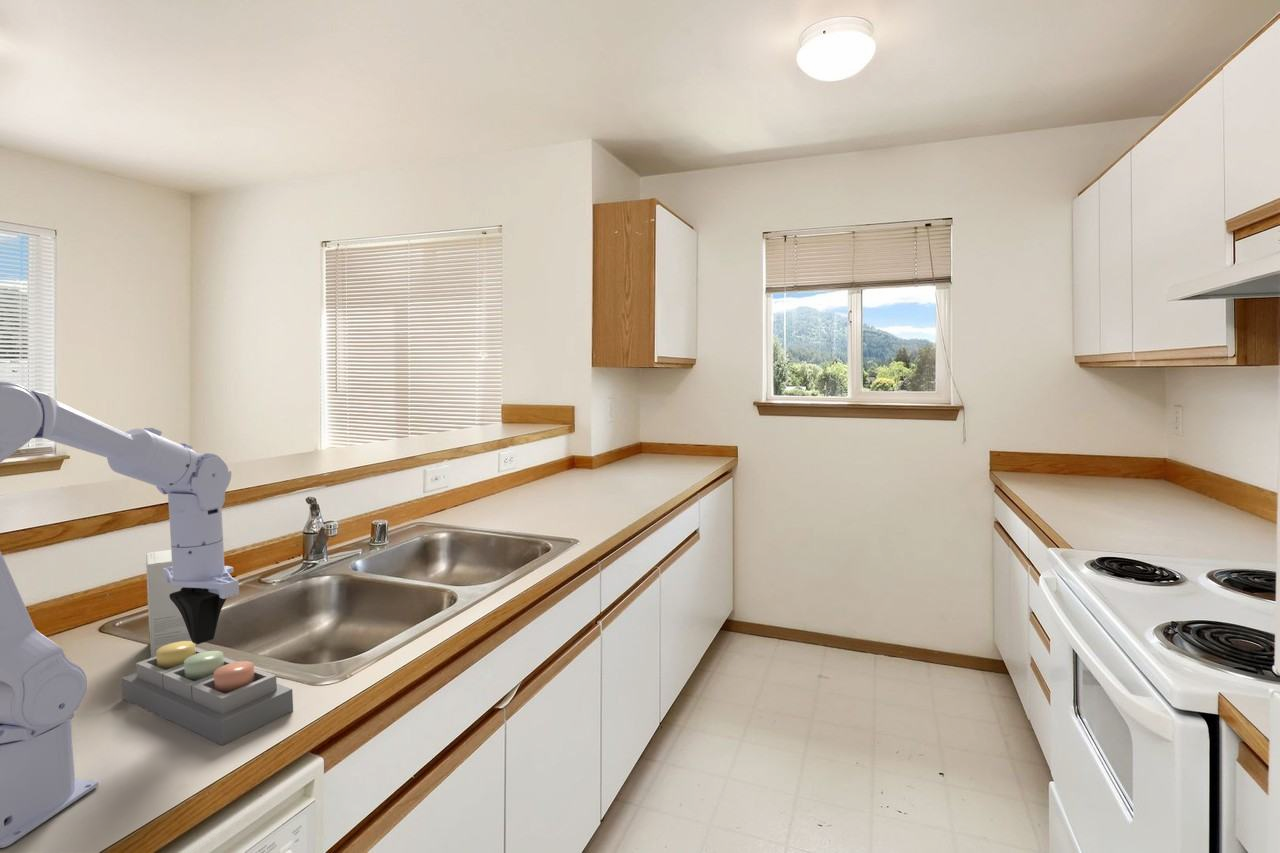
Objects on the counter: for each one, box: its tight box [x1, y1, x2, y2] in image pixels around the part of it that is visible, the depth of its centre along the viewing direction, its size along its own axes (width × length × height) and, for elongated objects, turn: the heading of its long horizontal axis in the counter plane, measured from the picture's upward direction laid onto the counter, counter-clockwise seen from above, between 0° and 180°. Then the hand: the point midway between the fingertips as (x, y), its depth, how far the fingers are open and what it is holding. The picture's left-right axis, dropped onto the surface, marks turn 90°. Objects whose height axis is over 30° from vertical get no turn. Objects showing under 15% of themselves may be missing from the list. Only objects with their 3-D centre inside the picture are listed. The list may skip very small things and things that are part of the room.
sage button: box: [184, 650, 225, 680], centre depth 85 cm, size 4×4×2 cm
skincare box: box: [145, 549, 199, 658], centre depth 104 cm, size 8×7×16 cm
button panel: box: [121, 647, 294, 746], centre depth 85 cm, size 24×9×5 cm, turn 62°
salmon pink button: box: [214, 660, 255, 692], centre depth 82 cm, size 4×4×2 cm
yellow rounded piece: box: [156, 641, 196, 668], centre depth 88 cm, size 4×4×2 cm
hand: (203, 640), depth 85 cm, fingers closed
